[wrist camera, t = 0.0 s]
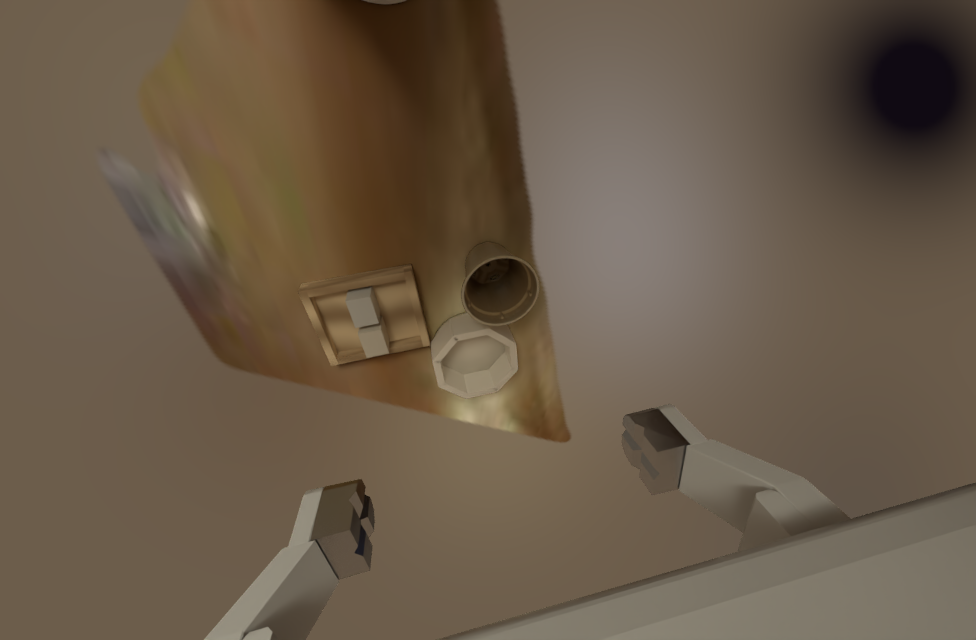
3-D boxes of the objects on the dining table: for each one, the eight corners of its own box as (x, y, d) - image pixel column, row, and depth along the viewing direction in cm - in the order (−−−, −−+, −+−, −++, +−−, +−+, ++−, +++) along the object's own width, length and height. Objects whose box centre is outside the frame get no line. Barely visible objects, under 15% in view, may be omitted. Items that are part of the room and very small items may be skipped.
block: (360, 319, 51) (357, 334, 48) (382, 315, 51) (381, 329, 48) (368, 342, 53) (366, 357, 50) (389, 338, 53) (388, 353, 50)
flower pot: (490, 305, 54) (503, 338, 47) (438, 270, 50) (445, 302, 43) (533, 256, 51) (555, 284, 44) (483, 215, 47) (498, 239, 40)
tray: (301, 283, 47) (297, 291, 45) (411, 263, 48) (411, 270, 47) (333, 356, 54) (331, 365, 52) (429, 336, 55) (430, 345, 53)
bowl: (425, 320, 53) (427, 341, 49) (505, 304, 55) (514, 323, 50) (440, 381, 60) (443, 403, 56) (511, 365, 61) (519, 386, 57)
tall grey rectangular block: (348, 288, 48) (345, 301, 45) (371, 283, 48) (370, 296, 45) (358, 313, 50) (355, 327, 47) (380, 309, 50) (378, 323, 47)
